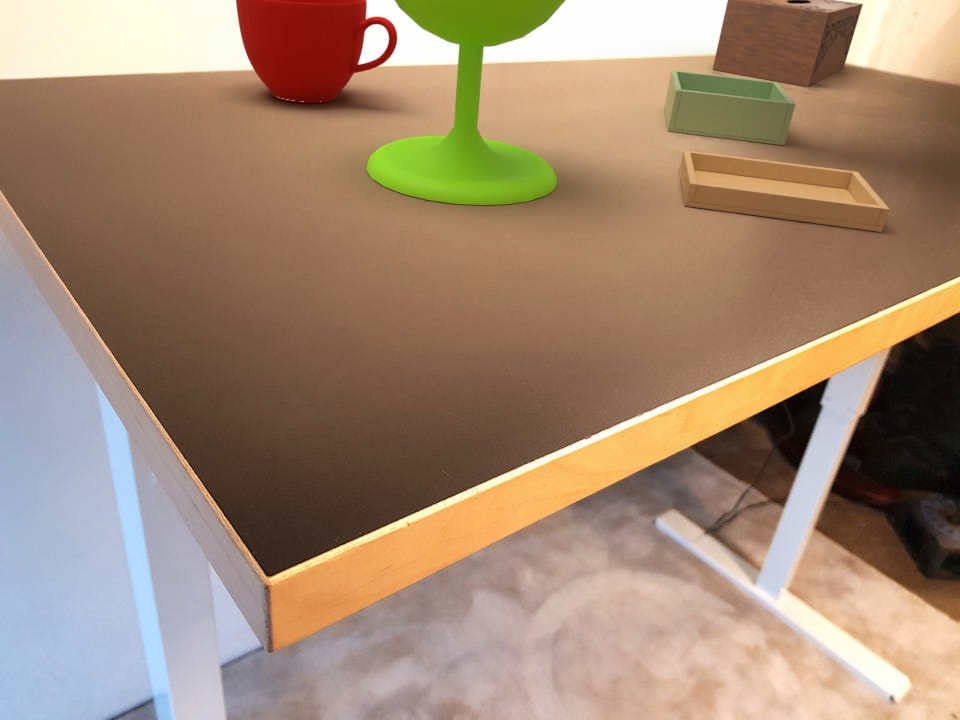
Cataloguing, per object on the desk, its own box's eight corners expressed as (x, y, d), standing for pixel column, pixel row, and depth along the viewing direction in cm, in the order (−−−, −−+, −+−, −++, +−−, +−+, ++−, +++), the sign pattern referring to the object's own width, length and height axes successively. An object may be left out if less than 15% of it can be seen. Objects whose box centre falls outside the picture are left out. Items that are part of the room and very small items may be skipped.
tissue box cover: (807, 87, 115) (828, 13, 110) (712, 69, 122) (728, -2, 117) (843, 67, 135) (862, 3, 130) (759, 53, 141) (775, -8, 136)
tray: (851, 192, 70) (858, 171, 69) (881, 232, 62) (890, 209, 61) (679, 170, 72) (683, 149, 71) (685, 206, 63) (690, 183, 62)
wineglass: (469, 137, 76) (485, -76, 67) (596, 184, 66) (636, -58, 57) (327, 159, 66) (323, -87, 57) (452, 219, 56) (472, -67, 47)
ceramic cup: (366, 124, 77) (368, 13, 72) (216, 98, 81) (208, -9, 76) (418, 100, 88) (422, 2, 83) (283, 77, 92) (279, -17, 87)
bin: (767, 119, 94) (777, 81, 92) (784, 145, 83) (795, 103, 81) (664, 107, 95) (671, 69, 93) (667, 131, 85) (676, 89, 83)
